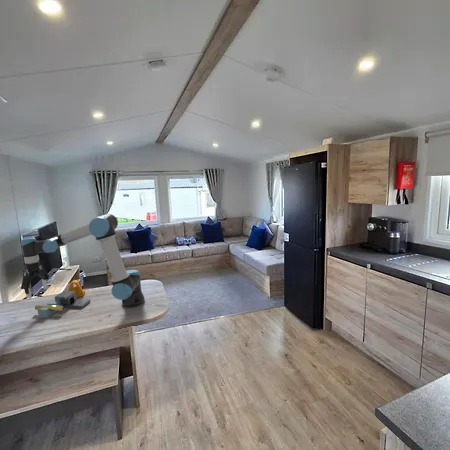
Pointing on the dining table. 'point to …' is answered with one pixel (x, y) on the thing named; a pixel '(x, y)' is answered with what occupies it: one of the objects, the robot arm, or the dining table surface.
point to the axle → (50, 307)
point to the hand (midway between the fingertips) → (37, 293)
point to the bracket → (76, 288)
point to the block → (70, 300)
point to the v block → (47, 310)
